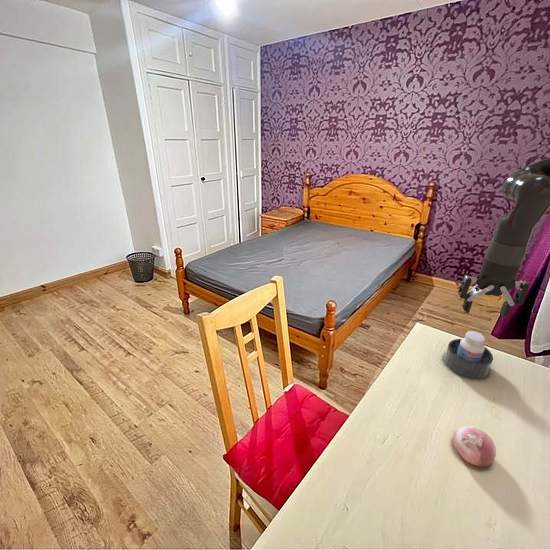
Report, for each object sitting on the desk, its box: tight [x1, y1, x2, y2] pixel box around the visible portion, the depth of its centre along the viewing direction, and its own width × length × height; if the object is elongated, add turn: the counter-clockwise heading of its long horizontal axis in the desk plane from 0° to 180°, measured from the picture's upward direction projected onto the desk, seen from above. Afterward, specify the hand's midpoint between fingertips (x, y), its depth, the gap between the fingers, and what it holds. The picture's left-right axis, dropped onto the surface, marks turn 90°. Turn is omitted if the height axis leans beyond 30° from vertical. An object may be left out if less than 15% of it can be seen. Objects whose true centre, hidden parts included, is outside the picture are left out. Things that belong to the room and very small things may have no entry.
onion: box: [452, 425, 497, 467], centre depth 66 cm, size 8×8×7 cm
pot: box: [444, 338, 494, 380], centre depth 90 cm, size 11×11×6 cm
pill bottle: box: [455, 330, 486, 364], centre depth 88 cm, size 6×6×11 cm
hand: (483, 313), depth 82 cm, fingers open, 8 cm apart
